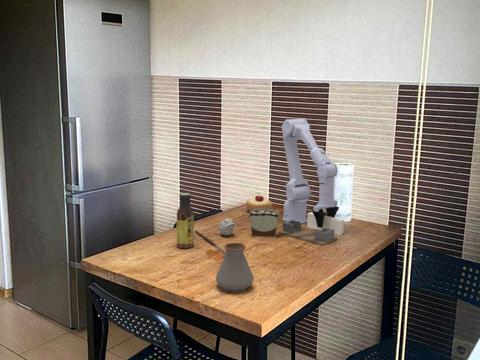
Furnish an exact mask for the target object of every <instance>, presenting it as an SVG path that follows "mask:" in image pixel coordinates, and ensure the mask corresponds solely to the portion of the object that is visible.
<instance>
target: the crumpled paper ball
mask: <svg viewBox="0 0 480 360" xmlns="http://www.w3.org/2000/svg"><path fill="white" fill-rule="evenodd" d="M235 227H236V224H235V223H234V221H233V219H230V218H225V219H224V220H222V221H221V222H220V223H219V225H218V229H219V231H220V234H221V235H223V236H230V235H232V233H233V231H234V229H235Z"/></svg>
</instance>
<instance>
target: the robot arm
mask: <svg viewBox="0 0 480 360" xmlns="http://www.w3.org/2000/svg"><path fill="white" fill-rule="evenodd" d="M310 129H311V128H310V124H309V123H308V120H307V118H303V117H302V118H296V119H295V118H294V119H291V118H288V119H287V118H286V119H285V120H284V121H283V123H282V125H281V131H282V136H283V137H282V138H283V139H282V140H283V145H284V151H285V158H286V163H287V169H288V174H289V181H288V182H287V183H286V185H285V187H286V191H285V196H286V198H287V199H286V200H285V202H283V203H284V204H283V218H282V221H284V222H286V221H289V220H296V221H300V222H301V225H302V224H304V223H307V203H308V201H309V198H310V197H311V195H312V191H311V188H310V186H309V183H308V180H307V179H305V177H303V171H302V167H301V166H302V165H301V160H300V155H299V154H300V153H299V149H298V148H299V146H298V143H297V142H298V140H299V139H300V140H302V142H303V143H304V144H305V146H306V147H307V148H308V150H309V151H310V153H309V156H310V158H311V160H312V162H313V163H314V165H315V167H316V175H317V176H318V182H319V186H318V187H319V190H318V203H316V205H314V206H313V209H312V211H311V212H312V213H313V214H314V216H315V219H316V223H317V227H319V228H322V227H323V222H324V217H325V216H330V217H334V218H336V214H337V212H338V211H339V210H340V207H339V206H338V204H339V203H338V202H339V201H338V200H335V199H334V196H335V195H334V189H335V177H337V175H338V172H339V171H338V166H337V164H336V163H334V162H333V161H331V160H330V159H329V157H328V156H327V154H326V152H325V150H324V149H323V148H322V147H318V145H317V142H316V141H315V139H314V137H313V135H312V133H311V131H310ZM323 210H325V211H323Z"/></svg>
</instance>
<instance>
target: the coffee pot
mask: <svg viewBox="0 0 480 360" xmlns="http://www.w3.org/2000/svg"><path fill="white" fill-rule="evenodd" d="M193 234H194V237H195V236H196V235H197V236H198V237H200V238H202V240H203V241H204V242H206V243H208V244H209V245H210V246H212V247H214V248H215V249H217V250H218V251H220V252H221V253H222V254H224V257H223V259H222V262H221V264H220V266H219V269H218V271H217V273H216V276H215V281H216V283H217V284H218V286H220V287H221V288H222V289H223V290H225V291H227V292H234V293H235V292H241V291H245V290H246V289H248V288H249V286H251V285H252V283H253V281H254V278H255V277H254V275H253V272H252V269H251V267H250V265H249V263H248V262H249V261H248V260H247V258H246V255H245V253H244V252H245V250H246V245H245V244H243V243H242V242H230V243H226V244H224V245H223V248H224V249H225V250H224V249H223V248H222V247H220V246H218V245H217V244H216V243H215V242H213V241H212V240H211V239H209V237H207V236H205V235H203V233H200V232H199V231H198V230H195V231H194V233H193ZM192 236H193V235H192Z"/></svg>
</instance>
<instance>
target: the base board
mask: <svg viewBox="0 0 480 360" xmlns="http://www.w3.org/2000/svg"><path fill="white" fill-rule="evenodd" d="M278 234H279V235H281V236H286V237H289V238H293V239H297V240H301V241H304V242H308V243H311V244H316V245H318V246H326V245H327V244H330V243H332V242H335V241H337V240H338V237H336V236H334V239H332V240H330V241H327V242H322V241H319V240H315V231H313V230H309V229H306V228H305V229H304V228H301V230H300V231H299V230H295V229H294V232H293V233H288V232H285V231H283V230H280V231H279V232H278Z"/></svg>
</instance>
